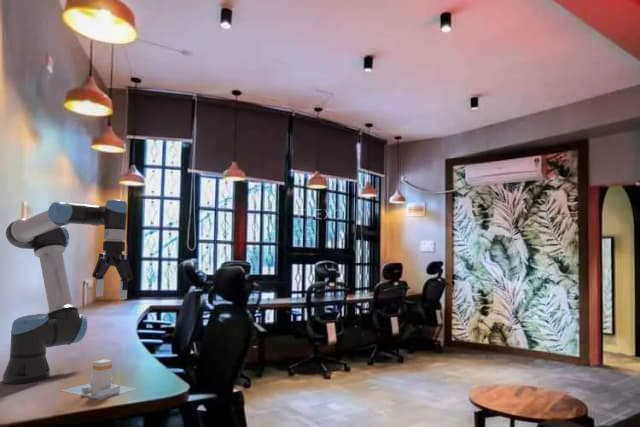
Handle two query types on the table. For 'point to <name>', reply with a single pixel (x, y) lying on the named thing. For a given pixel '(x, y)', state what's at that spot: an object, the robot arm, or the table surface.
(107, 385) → the white bottle
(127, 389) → the board
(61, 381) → the table surface
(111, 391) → the end holder
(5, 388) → the table surface
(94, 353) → the table surface
